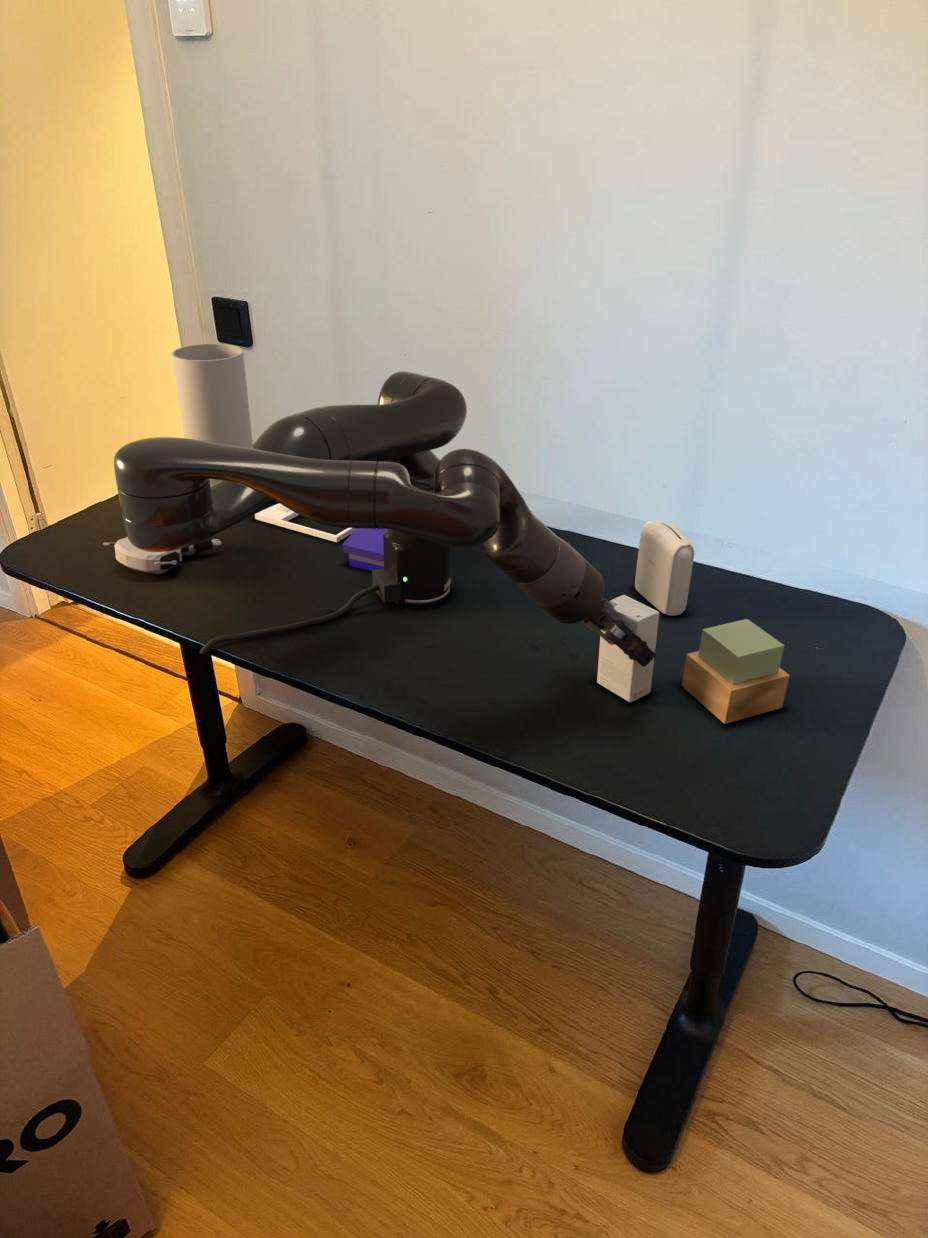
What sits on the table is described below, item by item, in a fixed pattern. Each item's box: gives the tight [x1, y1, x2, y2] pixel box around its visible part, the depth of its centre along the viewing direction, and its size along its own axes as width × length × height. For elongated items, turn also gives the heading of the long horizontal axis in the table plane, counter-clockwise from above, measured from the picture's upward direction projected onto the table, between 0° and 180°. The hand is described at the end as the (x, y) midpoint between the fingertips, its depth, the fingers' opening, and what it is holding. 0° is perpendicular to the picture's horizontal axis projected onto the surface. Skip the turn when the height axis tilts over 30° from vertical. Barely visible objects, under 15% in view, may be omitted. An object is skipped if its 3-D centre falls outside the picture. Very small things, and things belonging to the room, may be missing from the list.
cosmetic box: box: [596, 594, 660, 703], centre depth 115 cm, size 6×4×12 cm
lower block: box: [681, 650, 791, 725], centre depth 115 cm, size 9×9×5 cm
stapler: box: [342, 528, 388, 572], centre depth 153 cm, size 12×28×10 cm, turn 156°
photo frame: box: [254, 503, 357, 543], centre depth 163 cm, size 15×1×18 cm
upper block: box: [698, 618, 785, 684], centre depth 113 cm, size 7×7×4 cm
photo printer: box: [634, 519, 695, 616], centre depth 135 cm, size 10×4×12 cm, turn 20°
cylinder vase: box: [171, 343, 254, 487], centre depth 170 cm, size 12×12×25 cm
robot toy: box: [102, 536, 222, 575], centre depth 146 cm, size 12×4×15 cm
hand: (630, 643), depth 114 cm, fingers open, 8 cm apart
